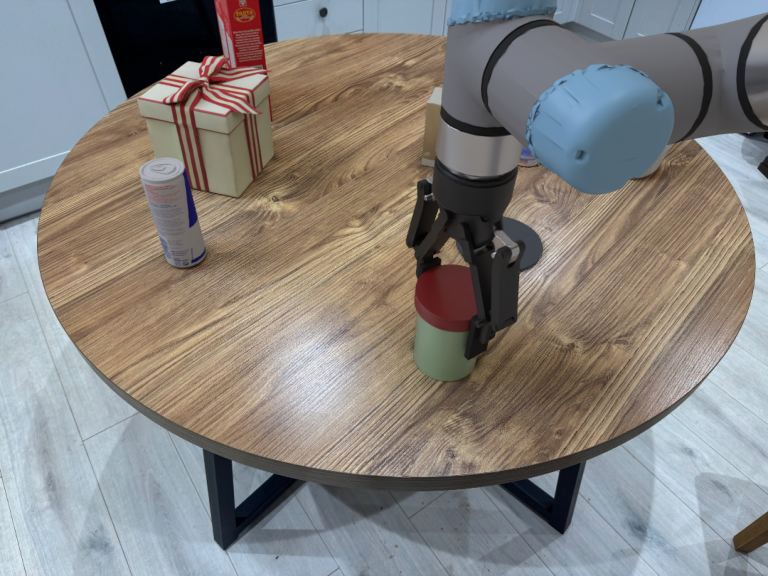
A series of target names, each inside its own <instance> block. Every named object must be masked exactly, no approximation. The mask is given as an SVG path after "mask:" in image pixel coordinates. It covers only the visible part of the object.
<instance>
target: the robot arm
mask: <svg viewBox="0 0 768 576" xmlns="http://www.w3.org/2000/svg"><path fill="white" fill-rule="evenodd" d="M451 2H452V3H451V8H450V14H449V17H448V19H447V21H446V26H447V32H446V43H445V54H444V67H443V76H442V87H441V88H442V98H441V101H442V103H441V110H440V114H439V123H438V131H437V139H436V147H435V151H436V155H437V156H436V157H435V162H434V167H433V173H432V176H428V177H426V178H423V179H420V180H417V182H416V200H415V205H414V208H413V212H412V215H411V219H410V223H409V226H408V229H407V233H406V237H405V245H406V247H407V248H408V249H413V251H414V255H413V256H414V258H415V260H416V266H415V278H416V281H417V280H418V279H419V277H420V276H421V275H422V274H423V273H424V272H425V271H427V270H429V269H431V268H433V267H435V266H439V265H442V261H443V260H442V259H441V258H440V257H439V256H438V254H440V253H442V252H443V251H442V248H443V247H444V246H445V245H446V243H447V242H448V241H449V240H450V239H453V240H455V242H456V241H457V242H458V243H459V245H460V246H461V247H462V252H463V256H462V257H463V261H464V262H465V263H467V264H468V267H470V273H471V279H472V285H473V290H474V296H475V302H476V308H477V313H478V314H476V315H474V316H472V318H471V323H470V328H469V333H468V338H467V343H466V348H465V353H464V357H465V358H466V359H467V360H470V359H472V358H474V357H476V356H477V357H478V356H480V355H482V354H483V353H485V352H487V351H488V348H489V347H488V346H489V343H490V341H493V339H495V338H496V336H497V335H496V334H497V333H500V332H501V331H502V330H505V329H506V328H509V327H510V326H513V325H514V324H516V323H517V322H518V314H519V313H518V312H519V311H518V310H519V291H520V276H521V275H520V273H521V272H520V261H521V259H522V257H523V254H524V252H525V249H526V245H525V243H524V242H523V241H522V240H520V239H519V240H516V241H514V242H513V241H512V240H511V239H510V238H509V237H508V236H507V235H506V234H505V233H504V232H503V231H504V225H503V216H504V213H505V211H506V210H507V208H508V207H509V204H510V203H511V201H512V199H513V195H514V190H515V185H516V181H517V177H518V173H519V165H518V163H519V162H520V158H521V153H522V149H523V146H524V147H525V148H526V149H527V150H528V151H529V152H530V153H531V154H532V156H534V157H535V159H536V161H537V162H538V164H539V165H540V166H541V167H543V168H544V169H545V170H549V171H550V172H551V173H552V174H554V175H556V176H557V177H558V178H560V179H561V180H562V181H564V182H565V183H567V184H568V185H569V186H570V187H572V188H573V189H574V190H576V191H578V192H581V193H583V194H587V195H594V196H595V195H607V194H610V193H614V192H617V191H619V190H622V189H623V188H624V187H625V186H626V185H627V183H628V182H629V181H630V180H631V178H636V179H640V178H639V177H640V176H642V175H643V174H644V173H645V172H646V171H647V170H648V169H649V168H650V167H651V166H652V165H653V164H654V163H655V162H656V160H657V159H658V158H659V157H660V155H661V154H662V152H663V150H664V149H665V147H666V146H667V145H670V144H673V145H674V144H679V143H680V142H686V141H691V140H697V139H703V138H707V137H714V136H721V135H731V134H748V133H764V132H765V133H766V132H768V11H767V12H762V13H759V14H755V15H751V16H747V17H743V18H739V19H735V20H732V21H727V22H724V23H719V24H714V25H709V26H704V27H703V26H702V27H698V28H693V29H687V30H680V31H674V32H664V33H663V32H662V33H656V34H649V35H643V36H637V37H628V38H622V39H616V40H608V41H603V42H593V41H589V40H586V39H584V38H582V37H581V36H580V35H577V34H576V33H574V32H573V31H571V30H569V29H567V28H566V27H564V26H563V25H562V24H561V23H559V22H558V21H556V20H554V16H555V13H556V11H557V9H558V0H452V1H451ZM485 245H486V246H485ZM483 246H485V247H484V248H483V249H480V250H478V251H476V252H474V250H476V249H479V248H481V247H483ZM436 255H437V256H436Z"/></svg>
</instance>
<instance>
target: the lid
mask: <svg viewBox="0 0 768 576" xmlns="http://www.w3.org/2000/svg"><path fill="white" fill-rule="evenodd" d="M413 296H414V298H413V304H414V308H415V310H416V312H418V314H419V315H420V317H421V318H422V319H423V320H424V321H426V322H427V323H428V324H430V325H431V326H433V327H435V328H438V329H441V330H444V331H448V332H467V331H469V328H470V323H471V318H472V316H474V315H476V314H478V313H477V308H476V302H475V296H474V290H473V285H472V279H471V273H470V267H469V266H466V265H462V264H455V263H454V264H453V263H452V264H451V263H449V264H447V263H446V264H441V265H439V266H435V267H433V268H431V269H429V270H427V271H425V272H424V273H423V274H422V275H421V276H420V277H419V279H418V280H417V279H416V282H415V288H414V295H413Z"/></svg>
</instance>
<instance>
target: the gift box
mask: <svg viewBox="0 0 768 576" xmlns="http://www.w3.org/2000/svg"><path fill="white" fill-rule="evenodd" d="M228 60H230V58H227V57H224V56H211V55H206V56H204V57H203V60H202V61H201V63H199V62H195V61H190V60H188V61H186V62H185V63H184V64H182V65H181V66H179V67H178V68H177V69H176V70H174V71H173V72H171V73H170V74H168V75H167V76H165V77H164V78H163V79H162V80H160V81H158V82H157V83H156V84H155V85H154V86H152V87H150V89H148V90H147V91H146V92H144V93H143V94H141V95H140V96H139V97H138V98H137V100H136V101H137V104H138V109H139V112H140V117H141V118H144V119H145V123H146V127H147V130H148V135H149V138H150V142H151V147H152V149H153V154H154V159H157V158H175V159H178V160H180V161H181V162H183V164H184V166H185V169H186V172H187V176H188V180H189V184H190V188H191V189H196V190H199V191H205V192H208V193H209V192H210V193H214V194H220V195H222V196H223V195H224V196H227V197H232V198H237V199H238V198H240V197H241V196H242V195H243V194H244V192H245V191H246V190H247V189H248V188H249V186H251V184H252V183H253V182H254V181H255V180H256V179H257V177H258V176H259V174H260V173H262V172H263V170H264V168H265V167H266V166H267V165H268V164H269V163H270V161H271V160H272V159H273V158H274V156H275V150H274V149H275V148H274V139H273V130H272V129H273V128H272V122H271V118H270V109H269V99H268V96H269V95H270V96H271V84H270V77H269V76H268V75H267V76H266V75H261V74H263V73H267V74H268V73H271V72H272V70H271V69H267V70H262V69H258V68H253V67H249V66H244V67H234V68H226V67H224V65H225V63H226V61H228Z"/></svg>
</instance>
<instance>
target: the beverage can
mask: <svg viewBox="0 0 768 576" xmlns="http://www.w3.org/2000/svg"><path fill="white" fill-rule="evenodd" d="M138 174H139V177H140V181H141V184H142V188H143V192H144V194H145V198H146V200H147V203H148V206H149V210H150V212H151V216H152V220H153V222H154V225H155V229H156V231H157V233H158V237H159V240H160V244H161V247H162V250H163V253H164V256H165V260H166V262H167V263H168V264H169V265H171V266H173V267H176V268H182V269H183V268H190V267H194V266H196V265H197V264H199V263H201V262H202V261H203V260H204V259H205V257H206V256H207V248H206V244H205V240H204V235H203V231H202V228H201V223H200V220H199V216H198V212H197V208H196V204H195V201H194V196H193V193H192V188H191V187H190V184H189V180H188V176H187V172H186V169H185V166H184V164H183V162H181V161H180V160H178V159H175V158H157V159H156V158H153V159H151V160H148V161H146V162H144V163H143V164H142V165H141V166H140V168H139V169H138Z"/></svg>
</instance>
